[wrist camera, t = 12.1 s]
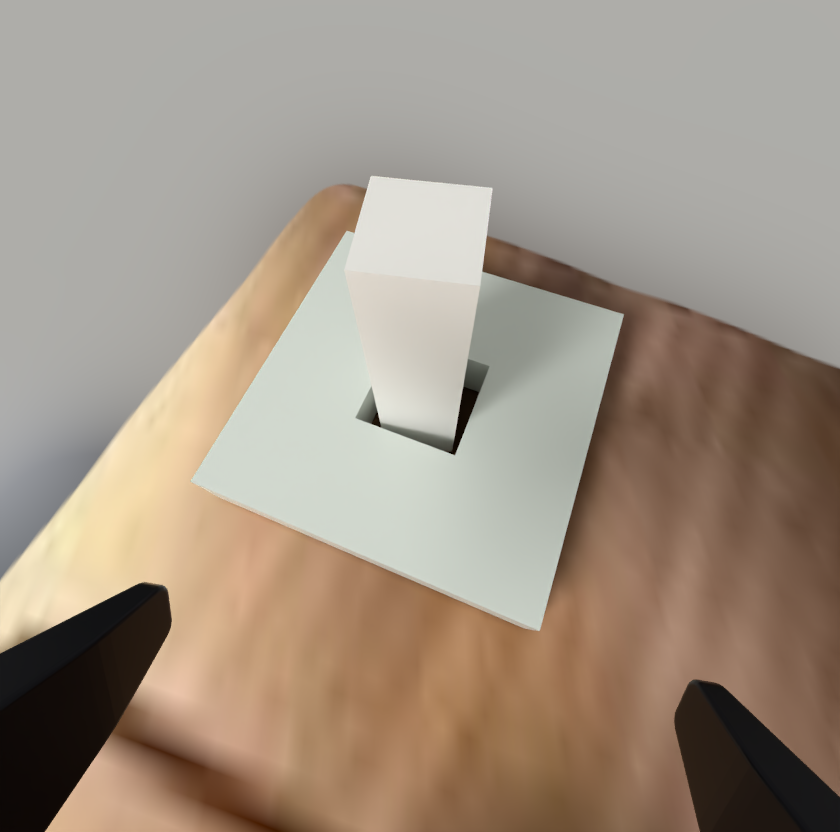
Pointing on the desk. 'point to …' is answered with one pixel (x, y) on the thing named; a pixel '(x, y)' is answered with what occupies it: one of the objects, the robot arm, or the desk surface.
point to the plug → (418, 299)
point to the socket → (422, 464)
